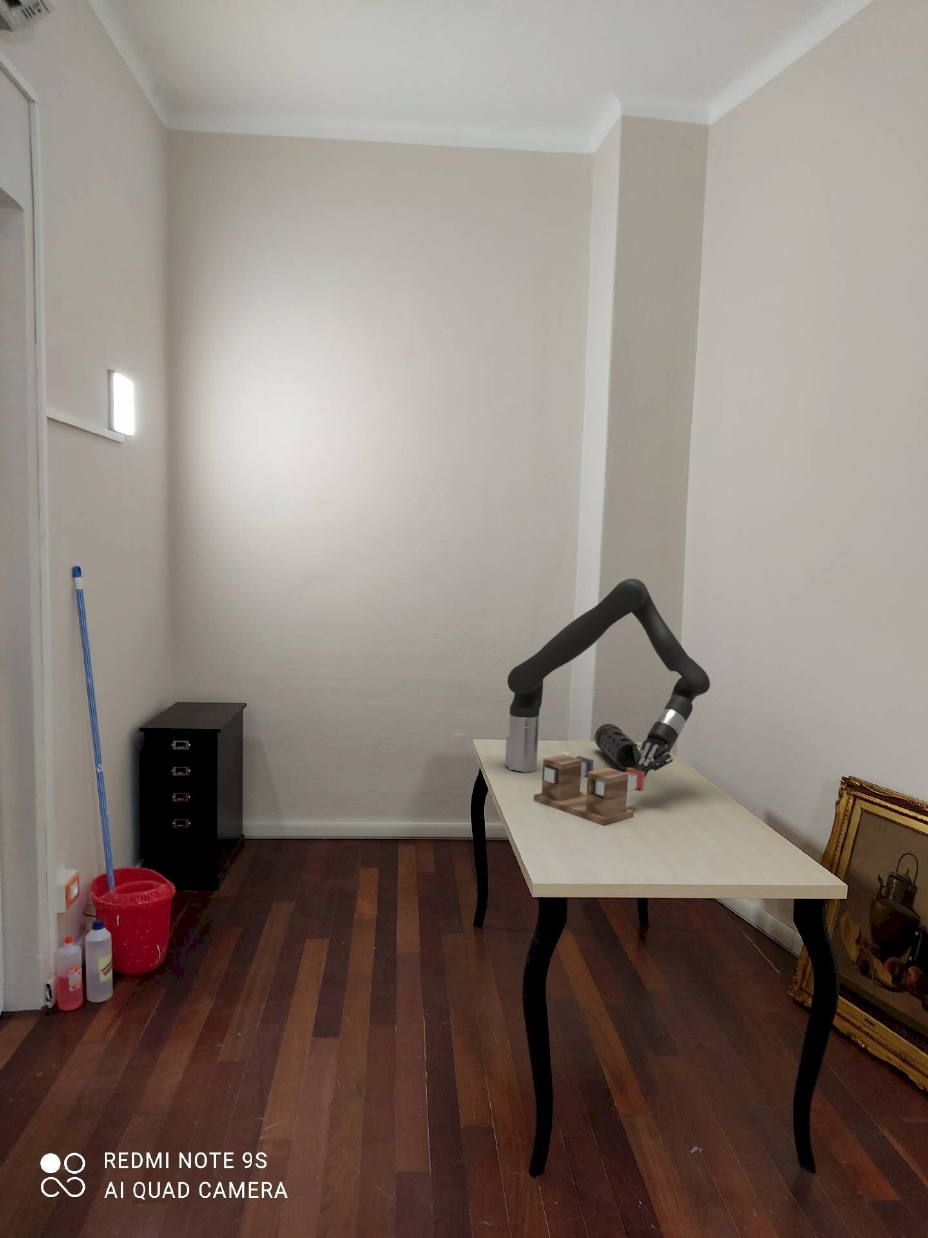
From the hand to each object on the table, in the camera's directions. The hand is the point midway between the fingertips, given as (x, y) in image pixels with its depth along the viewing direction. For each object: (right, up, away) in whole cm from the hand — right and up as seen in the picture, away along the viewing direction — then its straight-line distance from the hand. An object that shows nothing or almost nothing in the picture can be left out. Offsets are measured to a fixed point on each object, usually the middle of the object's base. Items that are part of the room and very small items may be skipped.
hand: (637, 778), depth 231 cm
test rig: (-15, -8, -2) cm, 17 cm away
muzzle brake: (+3, -4, +47) cm, 47 cm away
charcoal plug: (-19, -1, +5) cm, 19 cm away
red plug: (-6, -3, -5) cm, 9 cm away
